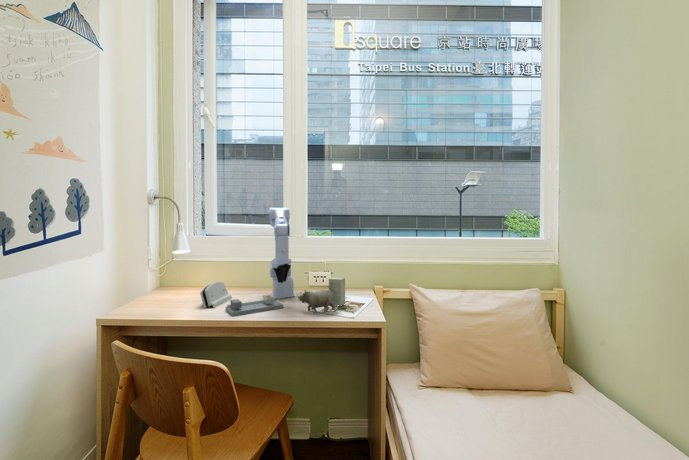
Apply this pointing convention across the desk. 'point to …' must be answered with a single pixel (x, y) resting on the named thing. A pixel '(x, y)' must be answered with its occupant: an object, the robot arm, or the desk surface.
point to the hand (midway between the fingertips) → (282, 281)
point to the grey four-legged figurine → (318, 299)
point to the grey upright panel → (214, 295)
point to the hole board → (250, 307)
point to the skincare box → (337, 290)
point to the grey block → (268, 299)
